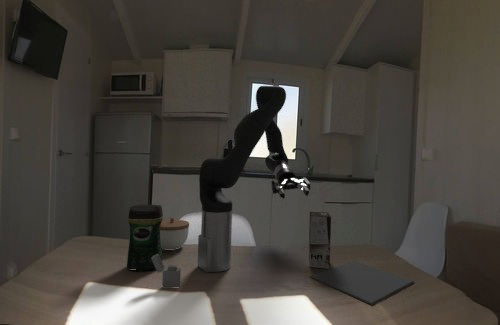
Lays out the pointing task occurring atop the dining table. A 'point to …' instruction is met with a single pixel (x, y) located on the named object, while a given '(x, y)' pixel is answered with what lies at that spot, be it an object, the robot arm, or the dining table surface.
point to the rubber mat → (362, 281)
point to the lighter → (167, 272)
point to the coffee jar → (144, 236)
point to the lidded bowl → (173, 233)
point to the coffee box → (319, 239)
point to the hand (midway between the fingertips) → (295, 194)
